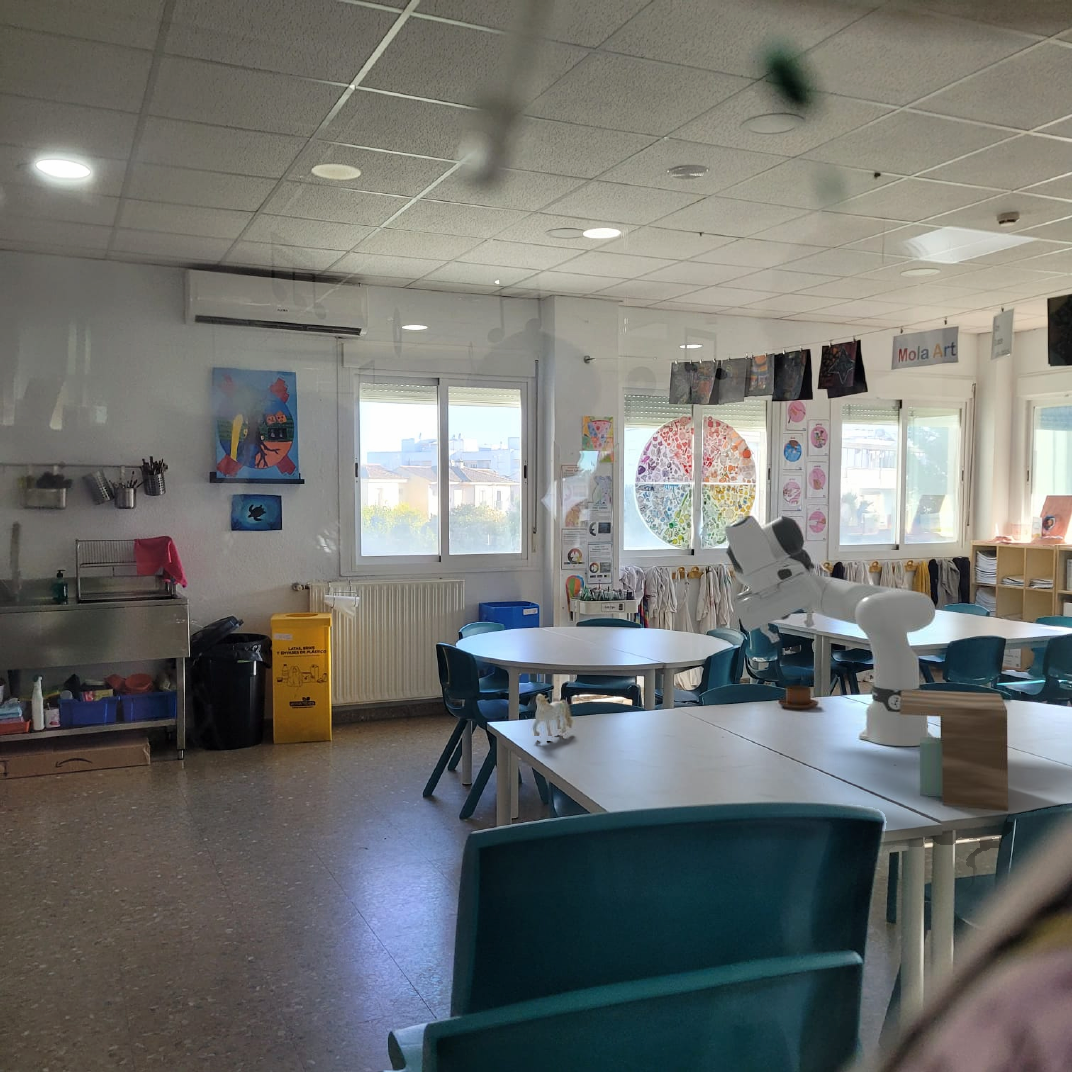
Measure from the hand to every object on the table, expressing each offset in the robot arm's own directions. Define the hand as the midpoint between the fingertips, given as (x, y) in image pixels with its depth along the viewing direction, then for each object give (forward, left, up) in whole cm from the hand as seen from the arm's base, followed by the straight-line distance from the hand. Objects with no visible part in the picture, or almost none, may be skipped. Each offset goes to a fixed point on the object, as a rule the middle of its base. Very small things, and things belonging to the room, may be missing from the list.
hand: (793, 634), depth 231 cm
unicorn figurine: (-10, -63, -32) cm, 71 cm away
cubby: (+11, +35, -31) cm, 48 cm away
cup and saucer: (-76, -8, -32) cm, 83 cm away
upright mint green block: (+11, +31, -31) cm, 45 cm away
